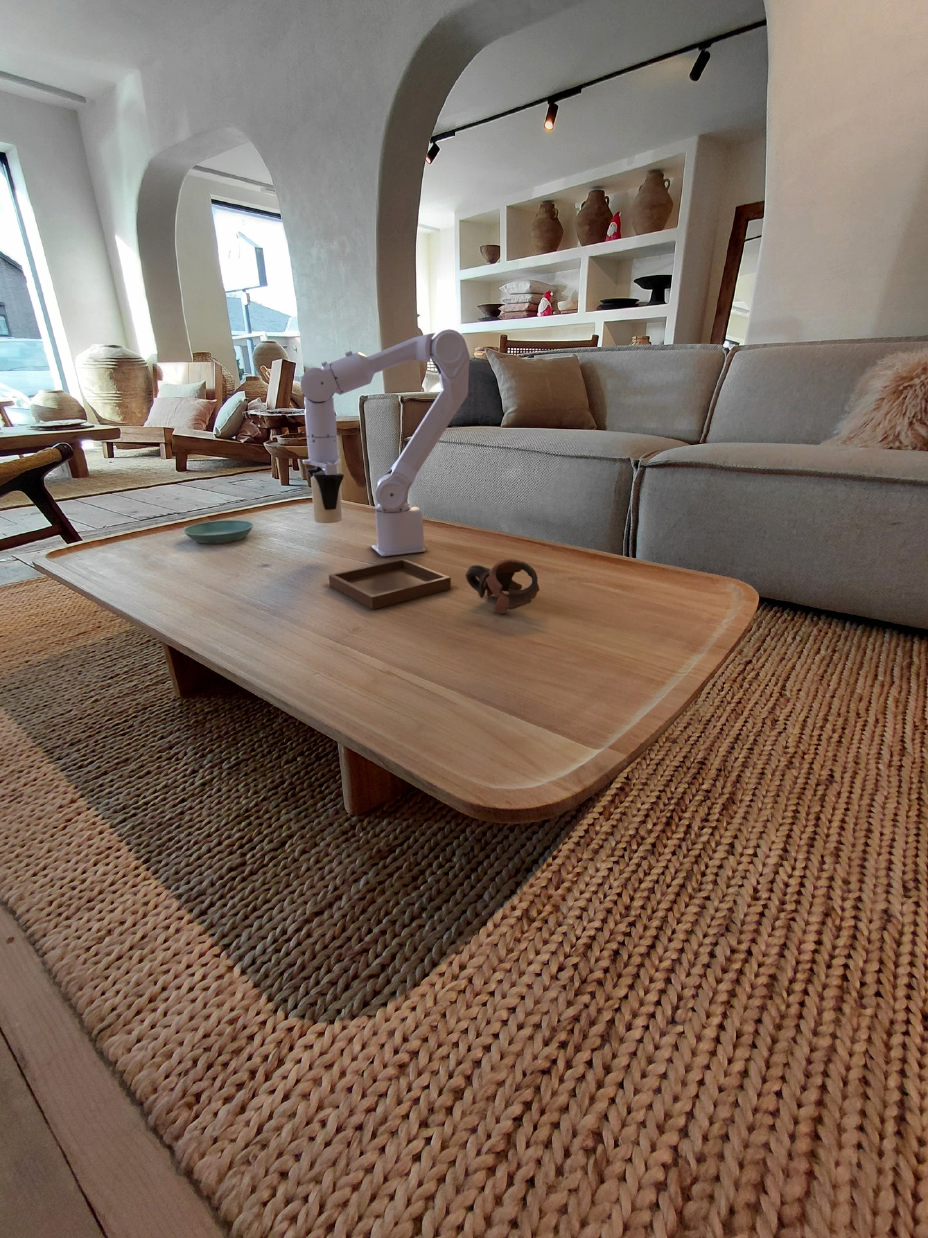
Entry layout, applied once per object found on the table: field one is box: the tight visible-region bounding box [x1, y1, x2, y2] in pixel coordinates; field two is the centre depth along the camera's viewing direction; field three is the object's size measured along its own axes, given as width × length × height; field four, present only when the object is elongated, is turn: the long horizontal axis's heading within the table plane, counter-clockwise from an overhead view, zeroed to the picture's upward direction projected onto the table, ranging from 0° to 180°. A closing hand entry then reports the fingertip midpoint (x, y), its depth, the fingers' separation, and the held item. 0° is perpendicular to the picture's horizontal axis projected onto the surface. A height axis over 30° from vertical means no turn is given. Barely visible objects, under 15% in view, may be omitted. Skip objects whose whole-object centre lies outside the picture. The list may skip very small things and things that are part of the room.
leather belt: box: [465, 558, 540, 615], centre depth 91 cm, size 12×10×8 cm
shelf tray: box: [328, 558, 452, 611], centre depth 100 cm, size 16×15×2 cm
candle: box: [310, 470, 343, 524], centre depth 116 cm, size 6×6×10 cm
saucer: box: [183, 519, 254, 545], centre depth 131 cm, size 15×15×3 cm
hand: (327, 506), depth 117 cm, fingers closed on candle, 5 cm apart
